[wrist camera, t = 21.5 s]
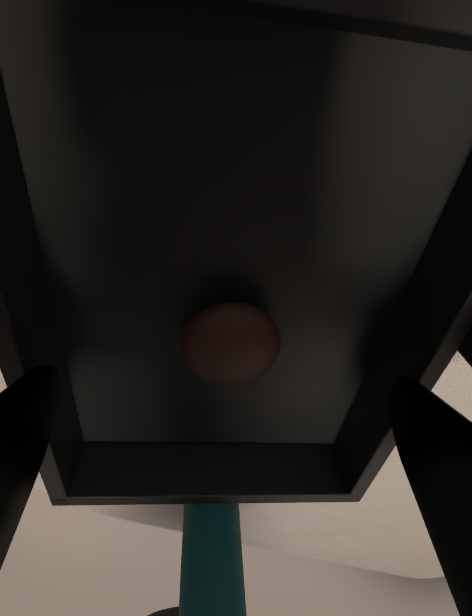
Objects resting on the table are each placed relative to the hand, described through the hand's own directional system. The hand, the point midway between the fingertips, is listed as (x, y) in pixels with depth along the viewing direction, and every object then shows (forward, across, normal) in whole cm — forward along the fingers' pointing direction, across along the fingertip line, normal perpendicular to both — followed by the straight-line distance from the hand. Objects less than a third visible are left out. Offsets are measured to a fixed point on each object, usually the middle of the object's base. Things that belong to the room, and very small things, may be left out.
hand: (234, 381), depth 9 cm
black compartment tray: (+3, 0, 0) cm, 3 cm away
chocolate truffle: (+2, 0, 0) cm, 2 cm away
